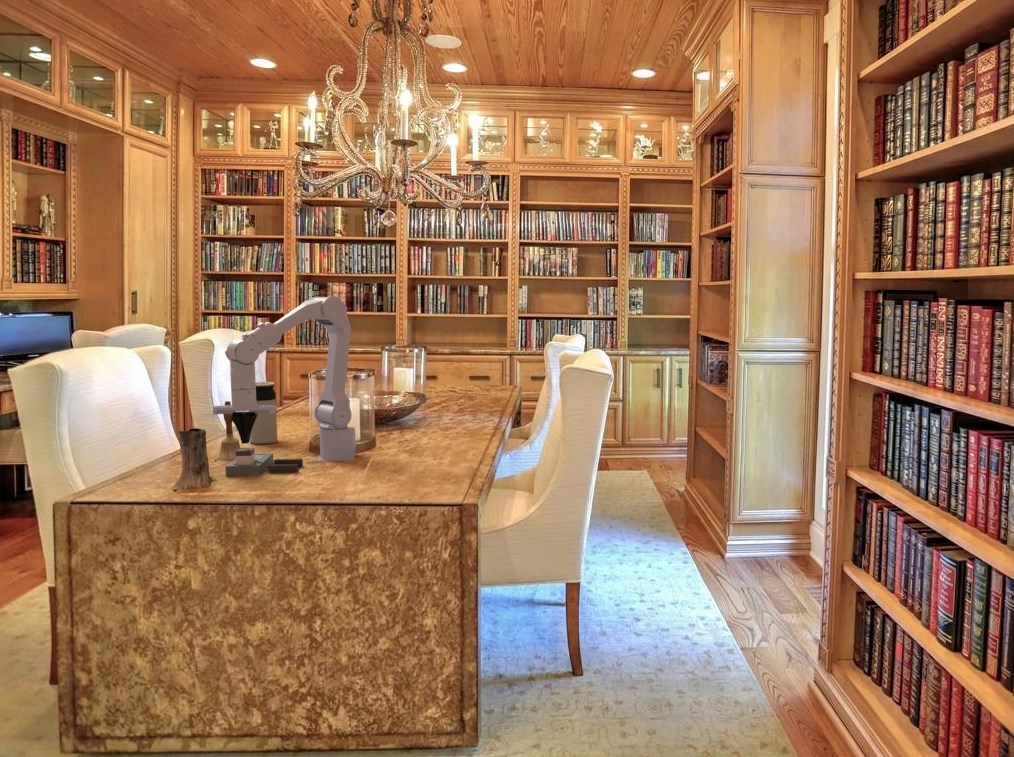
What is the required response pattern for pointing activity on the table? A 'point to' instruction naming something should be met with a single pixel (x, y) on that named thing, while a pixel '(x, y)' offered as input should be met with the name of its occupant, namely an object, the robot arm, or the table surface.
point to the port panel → (250, 466)
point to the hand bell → (228, 440)
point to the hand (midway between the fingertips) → (245, 442)
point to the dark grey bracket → (285, 466)
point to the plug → (245, 456)
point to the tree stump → (193, 460)
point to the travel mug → (265, 415)
